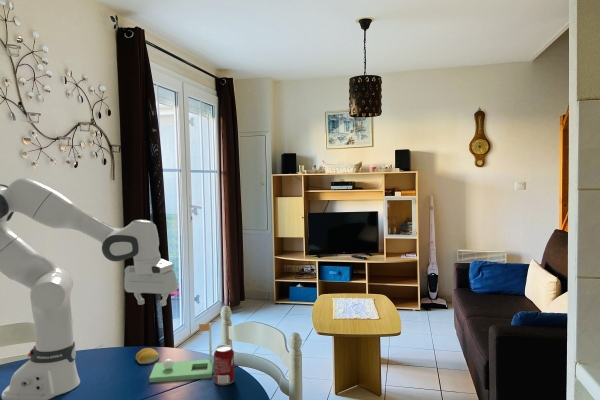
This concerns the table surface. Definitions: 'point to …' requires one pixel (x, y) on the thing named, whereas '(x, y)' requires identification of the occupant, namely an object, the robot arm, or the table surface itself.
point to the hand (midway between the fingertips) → (152, 304)
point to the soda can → (224, 365)
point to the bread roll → (147, 356)
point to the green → (185, 366)
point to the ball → (168, 364)
